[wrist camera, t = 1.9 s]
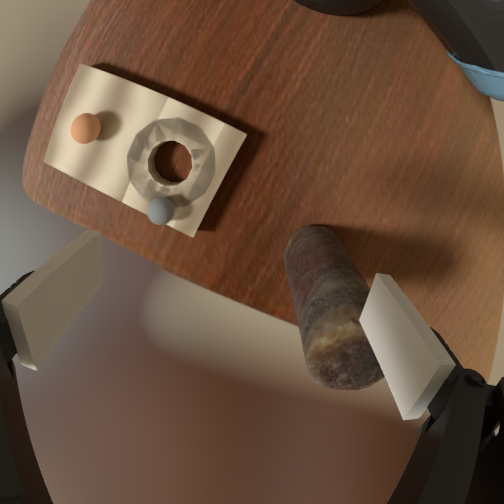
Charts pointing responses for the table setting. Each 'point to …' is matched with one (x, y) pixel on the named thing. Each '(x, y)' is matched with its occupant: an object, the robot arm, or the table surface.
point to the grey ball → (160, 211)
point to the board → (141, 145)
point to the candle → (330, 310)
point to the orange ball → (85, 128)
